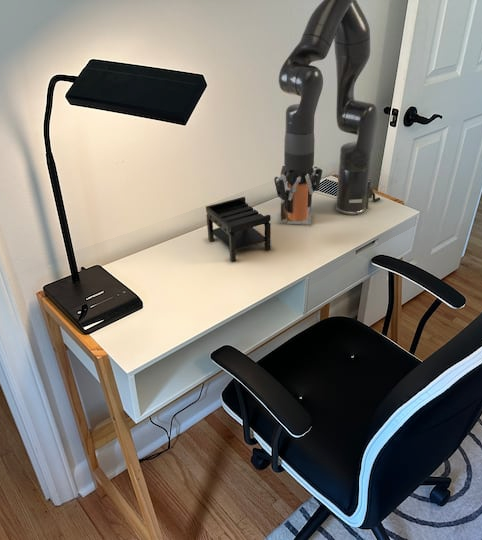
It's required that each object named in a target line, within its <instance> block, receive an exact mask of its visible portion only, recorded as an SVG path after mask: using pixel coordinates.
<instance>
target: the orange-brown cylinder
mask: <svg viewBox="0 0 482 540" xmlns="http://www.w3.org/2000/svg"><path fill="white" fill-rule="evenodd" d="M289 187H290V188H291V189H292V187H293V186H291V185H290V184H289ZM292 200H293V207H292V212H291V213H289V212H288V218H289V219H290V220H293V221H303V220H306V219H307V214H308V184H307V183H304V184H300V185H298V186H297V187H296V192H295V193H294V195H293V198H292Z"/></svg>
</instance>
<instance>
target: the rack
mask: <svg viewBox="0 0 482 540" xmlns="http://www.w3.org/2000/svg"><path fill="white" fill-rule="evenodd" d="M205 212H206V214H205V215H206V227H207V240H208V241H209V242H214V241H215V238H217V239H218V240H219V241H220V242H221V243H222V244H223V245H224V246H226V248H228V249H229V261H230V262H231V263H234V262H237V251H240V250H243V249H247V248H250V247H252V246H256V245H259V244H262V243H264V250H265V251H266V252H268V251H271V248H272V247H271V246H272V245H271V242H272V241H271V239H272V237H271V236H272V235H271V232H272V231H271V219H272V218H271V214H265V215H263V214H262V213H260V212H259V211H258V210H256V209H254V207H252V206H251V205H249V204H248V203H247V202H246V197H245V196H241V197H237V198H234V199H233V198H232V199H230V200H225V201H222V202H217V203H215V204H210V205H207V206H205ZM214 224H215V225H216V226H217V228H214ZM262 225H264V235H263V234H262V233H260V232H259V231H258V230H256V228H255V227H259V226H262ZM214 237H215V238H214Z"/></svg>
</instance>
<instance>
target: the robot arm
mask: <svg viewBox="0 0 482 540" xmlns="http://www.w3.org/2000/svg"><path fill="white" fill-rule="evenodd" d="M333 43H334V45H333V46H334V55H335V56H334V57H335V67H336V69H335V70H336V108H335V109H336V110H335V114H336V115H335V117H336V118H335V119H336V125H337V128H338V129H339V131H341V132H343V133H346V134H350V135H351V134H352V135H355V136H357V139H356V141H351V142H347V143H344V144H343V145H341V146H340V149H339V161H338V175H337V189H336V203H335V210H336V211H338V212H339V213H340V214H344V215H350V216H354V215H355V216H356V215H360V214H363V213H364V212H366V210H367V209H368V208H369V200H370V199H372V201H373V202H376V203H377V202H378V201H380V200H381V198H380V197H376V193H375V191H374V188H373V187H372V188H371V183H372V182H371V180H370V179H369V178H370V168H371V159H372V151H373V148H374V145H375V137H376V132H377V131H376V130H377V125H378V116H379V110H378V107H377V105H376V104H374V103H372V102H367V101H361V100H356V99H355V85H356V82H357V80H358V78H359V76H360V75H361V74H362V72H363V70H364V69H365V67H366V66H367V64H368V62H369V59H370V56H371V27H370V23H369V22H368V19H367V17H366V15H365V13H364V11H363V10H362V7H361V6H360V4H359V3H358V1H357V0H322V1H321V2H320V3H319V4H318V5H317V6H316V8H315V9H314V10H313V12H312V13H311V15H310V17H309V18H308V21H307V23H306V26H305V28H304V31H303V33H302V36H301V38H300V41H299V42H298V44H297V45H296V46H295V47H294V49H293V50H292V51H291V53H290V54H289V55H288V57H287V58H286V59H285V60H284V62H283V64H282V66H281V67H280V70H279V73H278V86H279V88H280V90H281V91H282V92H283V93H285V94H288V95H293V96H297V97H300V101H299V103H293V104H291V105H288V107H287V108H286V110H285V131H284V132H285V133H284V140H283V141H284V142H283V144H284V145H283V148H284V149H283V150H284V155H283V157H284V160H283V161H284V163H283V166H285V173H284V175H283V176H274V179H273V181H274V185H275V191H276V195H277V197H278V198H280V200H281V199H283V200H284V208H285V210H286V211H287V212H289V213H291V212H292V207H293V200H292V198H293V195H294V193H295V192H296V187H297V186H298V185H300V184H304V183H307V184H308V207H310V205H311V206H312V202H313V201H312V199H313V194H314V192H317V191H319V189H320V185H321V181H322V176H323V169H322V168H320V167H318V166H314V165H315V142H316V141H315V114H316V111H317V108H318V103H319V100H320V97H321V94H322V92H323V91H322V90H323V86H324V76H323V74H322V71H321V69H320V68H319V67H318V66H315V65H311V63H313V62H319V61H323V60H324V59H326V57H327V56H328V54H329V51H330V49H331V47H332V44H333ZM311 175H312V178H311V181H310V177H311ZM285 180H287V182H286V185H285ZM289 184H290V185H291V186H293V187H292V189H291V188H290V187H289ZM284 185H285V187H284Z"/></svg>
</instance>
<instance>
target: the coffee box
mask: <svg viewBox="0 0 482 540" xmlns="http://www.w3.org/2000/svg"><path fill="white" fill-rule="evenodd" d="M284 173H285V165H282V166H281V171H280V174H279V175H280V176H279V177H281V176H283V175H284ZM311 178H312V175H311V177H310V181H311ZM286 182H287V180H285V185H286ZM285 185H284V187H285ZM311 222H312V204H311V205H310V207H308V214H307V219H306V220H303V221H293V220H290V219H289V218H288V212H287V211H286V210H285V208H284V200H283V199H281V198H280V224H282V225H306V226H309V225H311Z"/></svg>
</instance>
